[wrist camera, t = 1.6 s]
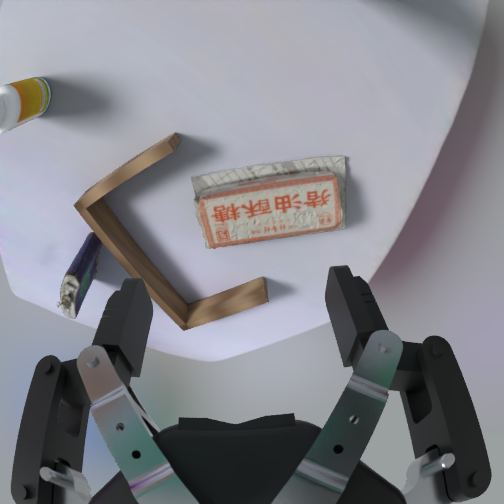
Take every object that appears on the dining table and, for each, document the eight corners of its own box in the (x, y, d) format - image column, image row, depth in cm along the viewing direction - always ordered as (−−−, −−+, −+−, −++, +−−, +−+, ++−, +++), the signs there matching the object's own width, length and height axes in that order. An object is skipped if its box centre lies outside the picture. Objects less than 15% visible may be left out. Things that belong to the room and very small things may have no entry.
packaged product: (207, 266, 35) (185, 191, 29) (210, 243, 39) (191, 174, 33) (354, 243, 34) (357, 166, 28) (342, 223, 38) (342, 152, 32)
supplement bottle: (41, 67, 22) (-11, 79, 14) (58, 99, 25) (8, 119, 17) (16, 95, 23) (-35, 114, 15) (32, 125, 26) (-16, 151, 18)
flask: (95, 279, 41) (71, 332, 32) (79, 272, 40) (53, 323, 31) (105, 235, 36) (75, 288, 28) (87, 227, 35) (53, 278, 27)
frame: (175, 132, 29) (167, 141, 26) (266, 281, 43) (268, 301, 40) (86, 190, 32) (73, 205, 29) (186, 311, 46) (183, 330, 43)
